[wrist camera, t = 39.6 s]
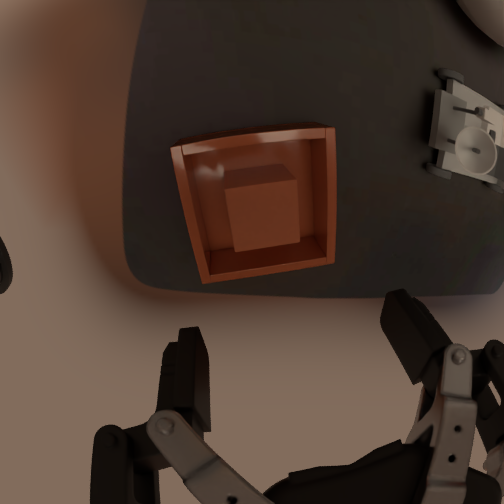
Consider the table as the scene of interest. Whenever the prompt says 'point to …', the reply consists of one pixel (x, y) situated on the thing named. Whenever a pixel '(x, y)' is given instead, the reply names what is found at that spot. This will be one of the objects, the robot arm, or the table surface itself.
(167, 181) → the table surface
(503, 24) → the vase
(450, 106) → the toy car
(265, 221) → the block
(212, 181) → the terracotta bin
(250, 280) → the table surface
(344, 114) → the table surface
